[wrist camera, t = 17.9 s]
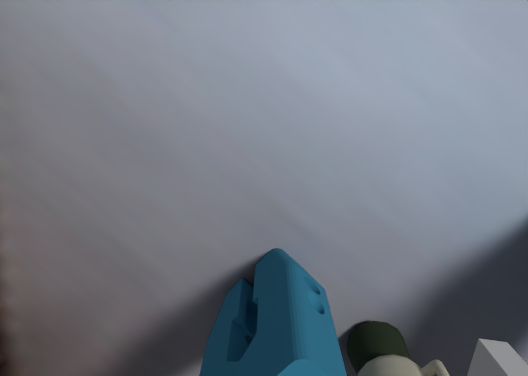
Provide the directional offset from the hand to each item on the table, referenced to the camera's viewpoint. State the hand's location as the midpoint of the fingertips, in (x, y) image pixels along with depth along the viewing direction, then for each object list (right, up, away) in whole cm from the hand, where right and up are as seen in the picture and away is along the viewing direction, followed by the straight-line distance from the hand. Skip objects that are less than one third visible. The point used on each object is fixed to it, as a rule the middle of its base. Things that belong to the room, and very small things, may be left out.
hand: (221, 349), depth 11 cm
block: (+1, -6, +36) cm, 36 cm away
